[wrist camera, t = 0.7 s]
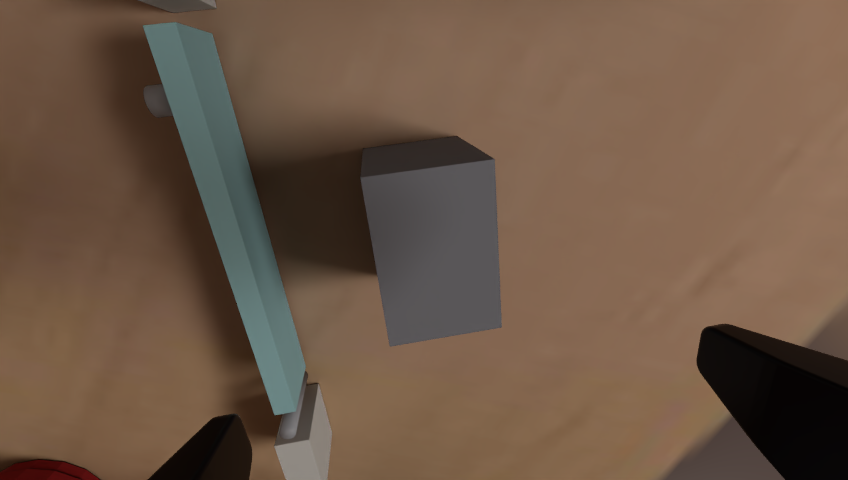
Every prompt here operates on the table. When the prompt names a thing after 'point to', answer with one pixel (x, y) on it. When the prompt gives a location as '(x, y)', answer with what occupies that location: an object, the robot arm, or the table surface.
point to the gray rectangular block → (433, 237)
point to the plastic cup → (45, 471)
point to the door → (228, 198)
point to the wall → (309, 426)
